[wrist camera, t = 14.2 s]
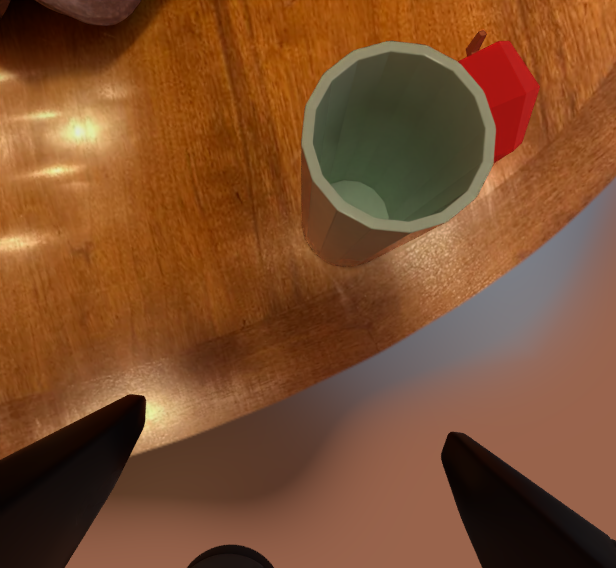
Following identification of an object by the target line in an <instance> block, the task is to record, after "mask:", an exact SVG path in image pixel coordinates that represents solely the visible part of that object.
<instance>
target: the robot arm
mask: <svg viewBox="0 0 616 568" xmlns="http://www.w3.org/2000/svg"><path fill="white" fill-rule="evenodd" d="M145 413H146V399H145V397H144V396H142V395H133V394H130V395H127V396H125V397H123V398H121V399H119V400H117V401H115V402H113V403H111V404H109V405H107V406H105V407H103V408H101V409H99V410H97V411H95V412H93V413H91V414H89V415H88V416H86V417H84V418H82V419H80V420H78V421H76V422H74V423H72V424H70V425H68V426H66V427H64V428H62V429H60V430H58V431H56V432H54V433H52V434H50V435H48V436H46V437H44V438H42V439H40V440H38V441H36V442H34V443H33V444H31V445H29V446H27V447H25V448H23V449H21V450H19V451H17V452H15V453H13V454H11V455H9V456H7V457H5V458H3V459H1V460H0V568H65V566H66V565H67V563H68V561H69V560H70V558H71V556H72V555H73V553H74V552H75V550H76V548H77V547H78V545H79V544H80V542H81V540H82V539H83V537H84V535H85V534H86V532H87V531H88V529H89V527H90V526H91V524H92V522H93V521H94V519H95V518H96V516H97V514H98V513H99V511H100V509H101V508H102V506H103V505H104V503H105V501H106V500H107V498H108V496H109V495H110V493H111V491H112V490H113V488H114V486H115V484H116V482H117V480H118V478H119V476H120V474H121V472H122V470H123V468H124V466H125V464H126V462H127V460H128V458H129V456H130V454H131V452H132V450H133V448H134V446H135V444H136V442H137V440H138V438H139V436H140V434H141V432H142V430H143V427H144V424H145ZM441 460H442V464H443V467H444V469H445V473H446V475H447V478H448V481H449V484H450V487H451V490H452V493H453V496H454V499H455V502H456V505H457V508H458V511H459V513H460V516H461V519H462V521H463V524H464V526H465V529H466V531H467V533H468V536H469V538H470V540H471V543H472V545H473V547H474V549H475V552H476V554H477V556H478V559H479V561H480V564H481V566H482V568H616V541H615V540H613V539H610V537H609V536H608V535H607V534H605V533H604V532H602V531H601V530H599V529H598V528H597V527H595V526H594V525H592V524H591V523H590V522H588V521H587V520H585V519H584V518H583V517H581V516H580V515H578V514H577V513H576V512H574V511H573V510H571V509H570V508H568V507H567V506H565V505H564V504H563V503H562V502H560V501H559V500H557V499H556V498H554V497H553V496H552V495H550V494H549V493H547V492H546V491H545V490H543V489H542V488H540V487H539V486H537V485H536V484H535V483H533V482H532V481H531V480H529V479H528V478H526V477H525V476H524V475H522V474H521V473H519V472H518V471H517V470H515V469H514V468H512V467H511V466H509V465H508V464H507V463H505V462H504V461H503V460H501V459H500V458H498V457H497V456H495V455H494V454H493V453H491V452H490V451H488V450H487V449H486V448H484V447H483V446H481V445H480V444H479V443H477V442H476V441H474V440H473V439H472V438H470V437H469V436H467V435H466V434H464V433H458V432H450V433H449V434H448V436H447V439H446V442H445V445H444V447H443V450H442V453H441Z"/></svg>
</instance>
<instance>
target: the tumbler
mask: <svg viewBox="0 0 616 568" xmlns="http://www.w3.org/2000/svg"><path fill="white" fill-rule="evenodd" d="M495 127H496V126H495V123H494V120H493V117H492V114H491V111H490V108H489V104H488V101H487V98H486V95H485V93H484V91H483V90H482V88H481V87H480V86H479V85H478V84H477V83H476V81H475V80H474V79H473V78H472V77H471V75H470V74H469V73H468V72H467V71H466V70H465V68H464V67H463V66H462V65H461V64H459V62H457V61H455V60H453V59H452V58H450V57H448V56H446V55H444V54H442V53H440V52H439V51H437V50H435V49H433V48H431V47H429V46H426V45H422V44H413V43H404V42H396V41H386V42H383V43H379V44H375V45H372V46H368V47H364V48H361V49H357V50H354V51H352V52H351V53H349V54H348V55H347V56H345V57H344V58H343V59H342V60H340V61H339V62H338V63H336V64H335V65H334V66H333V67H331V68H330V69H329V70H327V71H326V72H325V73H324V74H323V75H322V77H321V79H320V81H319V82H318V84H317V86H316V88H315V90H314V91H313V93H312V95H311V97H310V99H309V100H308V102H307V104H306V107H305V112H304V122H303V131H302V141H301V200H302V228H303V232H304V236H305V239H306V241H307V243H308V245H309V246H310V248H311V249H312V251H313V252H314V253H315V254H316V255H317V256H319V257H320V258H321V259H323V260H324V261H326V262H328V263H330V264H333V265H337V266H342V267H352V266H357V265H361V264H364V263H367V262H370V261H372V260H374V259H376V258H378V257H380V256H382V255H383V254H385V253H387V252H389V251H391V250H393V249H395V248H397V247H399V246H401V245H403V244H405V243H407V242H409V241H411V240H413V239H415V238H417V237H419V236H421V235H423V234H425V233H427V232H428V231H430V230H432V229H434V228H436V227H438V226H440V225H442V224H444V223H446V222H448V221H449V220H450V219H452V218H453V217H454V216H455V215H456V214H458V213H459V212H460V211H461V210H463V209H464V208H465V207H466V206H467V205H469V204H470V203H471V202H472V201H473V200H475V198H476V197H477V195H478V194H479V192H480V190H481V188H482V186H483V184H484V182H485V180H486V178H487V176H488V174H489V172H490V170H491V168H492V166H493V163H494V149H495V135H496V128H495Z"/></svg>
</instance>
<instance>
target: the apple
mask: <svg viewBox="0 0 616 568" xmlns="http://www.w3.org/2000/svg"><path fill="white" fill-rule="evenodd" d="M486 35H487V34H486V32H485V31H484V30H482V31H480V32H478V33H477V35H476V36H475V37H474V39H473V40H472V41H471V43H470V44H469V45H468V47H467V48H466V53H467V57H466V58H464V59H462V60H460V61H458V62H459V64H461V65H462V66H463V67H464V68H465V70H466V71H467V72H468V73H469V74H470V75H471V77H472V78H473V79H474V80H475V81H476V83H477V84H478V85H479V86H480V87H481V88H482V90H483V91H484V93H485V95H486V98H487V101H488V104H489V108H490V111H491V114H492V117H493V120H494V123H495V126H496V127H495V128H496V135H495V149H494V163H495V162H496V161H498V160H500V159H501V158H503V157H504V156H506V155H508V154H509V153H511V152H513V151H514V150H515V149H516V148H517V147H518V146H519V145H520V144H521V143H522V141H523V138H524V135H525V132H526V129H527V126H528V123H529V120H530V116H531V113H532V110H533V107H534V104H535V101H536V98H537V95H538V92H539V88H540V86H539V85H538V83H537V82H536V80H535V79H534V77H533V76H532V74H531V73H530V71H529V70H528V68H527V67H526V65H525V63H524V62H523V60H522V59H521V57H520V56H519V54H518V53H517V51H516V50H515V48H514V47H513V45H512V44H511V42H510V41H498V42H496V43H494V44H492V45H490V46H488V47H486V48H484V49H482V50H480V51H479V49H480V47H481V45H482V43H483V41H484V39H485V37H486Z"/></svg>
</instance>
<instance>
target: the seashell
mask: <svg viewBox="0 0 616 568" xmlns="http://www.w3.org/2000/svg"><path fill="white" fill-rule="evenodd" d="M35 1H37V2H39V3H40V4H42V5H44V6H46V7H47V8H49V9H51V10H54V11H56V12H58V13H61V14H64V15H67V16H70V17H72V18H75V19H77V20H79V21H81V22H84V23H86V24H91V25H105V26H108V25H115V24H117V23H119V22H121V21H123V20H124V19H125V18H127V17H128V16H129V15H130V14H132V13H133V11H134V9H135V8H136V7H137V6H138V4H139V3H140V1H141V0H35ZM9 2H10V0H0V19H1V17H2V15H3V14H4V12H5V11H6V9H7V7H8V5H9Z"/></svg>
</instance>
